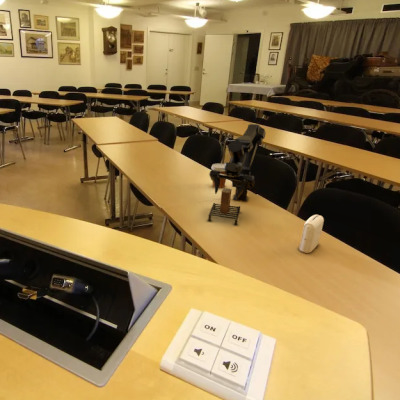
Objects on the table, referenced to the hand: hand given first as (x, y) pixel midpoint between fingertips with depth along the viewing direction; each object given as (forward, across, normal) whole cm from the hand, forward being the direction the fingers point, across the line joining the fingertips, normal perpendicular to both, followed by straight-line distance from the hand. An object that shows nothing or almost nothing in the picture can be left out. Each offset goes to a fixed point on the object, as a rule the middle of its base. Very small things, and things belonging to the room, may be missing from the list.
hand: (226, 195), depth 137 cm
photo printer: (+13, +34, +2) cm, 37 cm away
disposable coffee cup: (-19, -15, +35) cm, 43 cm away
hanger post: (+6, 0, +6) cm, 8 cm away
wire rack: (+6, 0, +9) cm, 11 cm away
